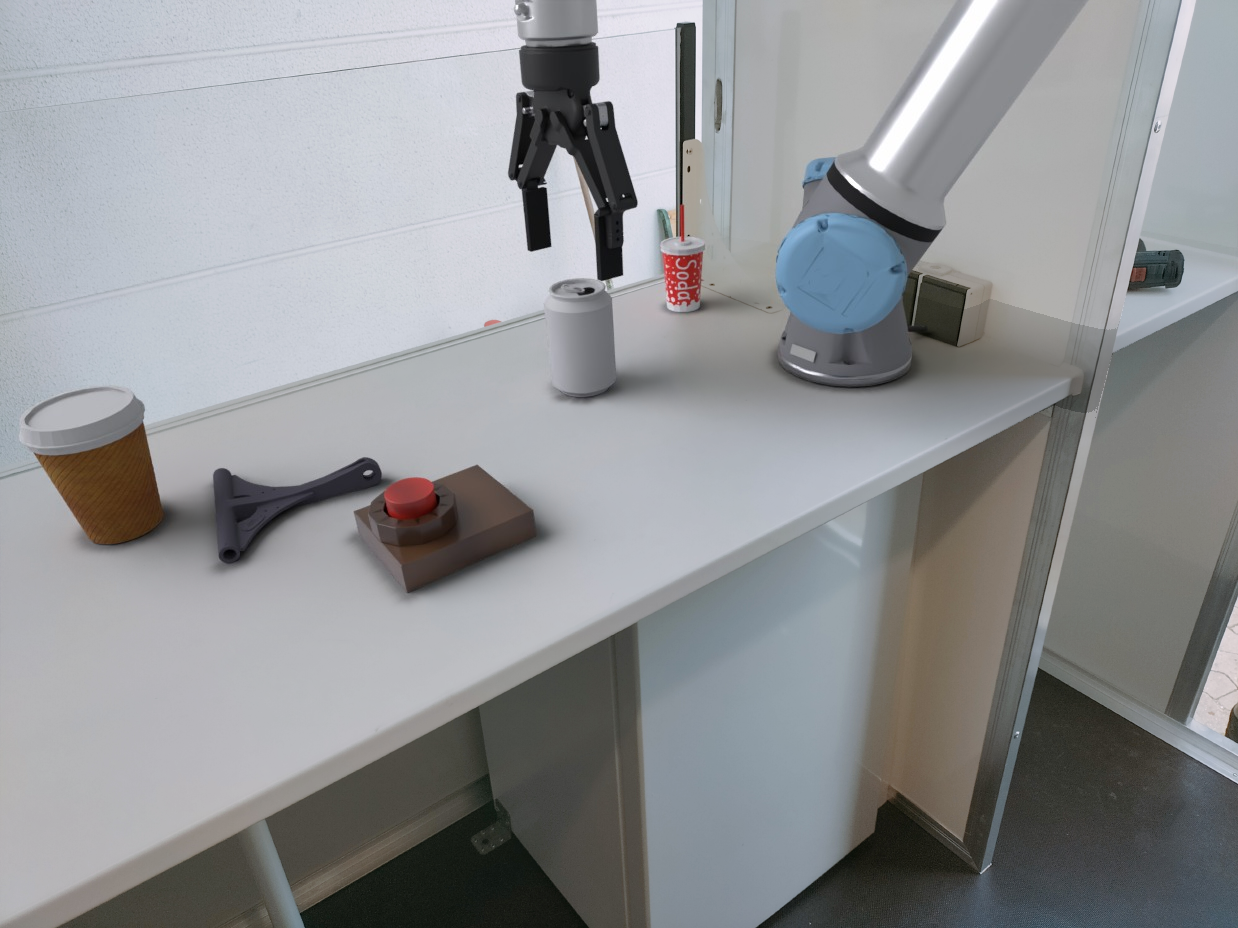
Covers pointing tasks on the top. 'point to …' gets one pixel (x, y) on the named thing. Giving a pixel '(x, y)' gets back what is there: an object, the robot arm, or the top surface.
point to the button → (410, 498)
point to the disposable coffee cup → (97, 459)
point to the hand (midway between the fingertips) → (573, 262)
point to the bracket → (275, 501)
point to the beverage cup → (683, 270)
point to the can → (580, 337)
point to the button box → (447, 528)
